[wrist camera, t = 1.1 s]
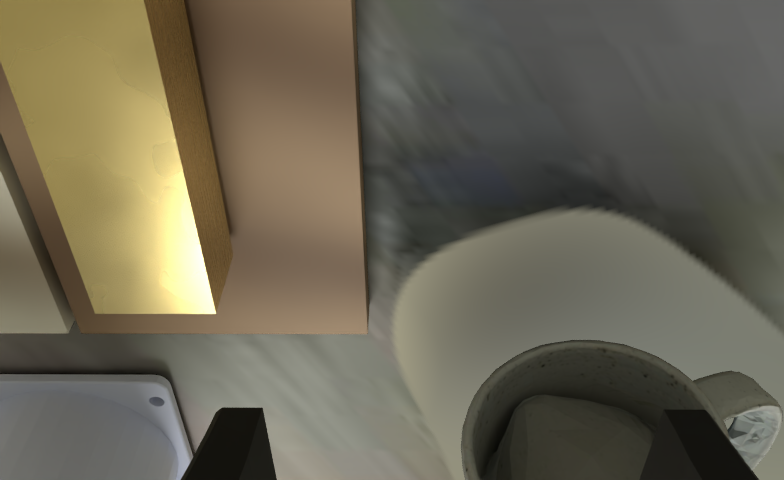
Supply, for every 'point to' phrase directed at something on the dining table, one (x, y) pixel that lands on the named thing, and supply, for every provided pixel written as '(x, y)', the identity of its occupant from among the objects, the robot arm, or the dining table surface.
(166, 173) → the latch bar
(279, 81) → the strike board
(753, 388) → the ceramic mug
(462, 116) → the dining table surface
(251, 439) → the robot arm
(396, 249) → the dining table surface
